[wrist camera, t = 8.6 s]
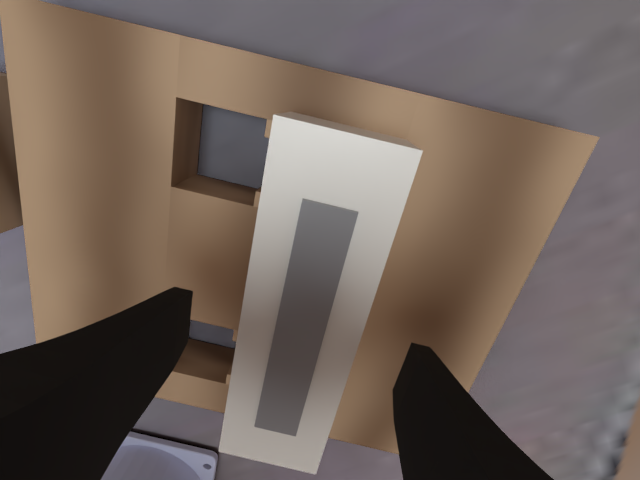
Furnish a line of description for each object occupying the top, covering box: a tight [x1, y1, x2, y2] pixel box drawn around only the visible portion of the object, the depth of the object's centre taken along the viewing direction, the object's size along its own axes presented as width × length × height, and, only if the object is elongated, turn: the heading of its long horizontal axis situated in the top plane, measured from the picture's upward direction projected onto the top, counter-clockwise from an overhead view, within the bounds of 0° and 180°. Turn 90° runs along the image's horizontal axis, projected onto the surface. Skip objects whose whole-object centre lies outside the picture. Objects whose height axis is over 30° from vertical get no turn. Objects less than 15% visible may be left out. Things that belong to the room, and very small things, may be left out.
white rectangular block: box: [218, 112, 423, 474], centre depth 14 cm, size 13×4×5 cm, turn 167°
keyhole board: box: [0, 0, 599, 454], centre depth 15 cm, size 20×16×2 cm
